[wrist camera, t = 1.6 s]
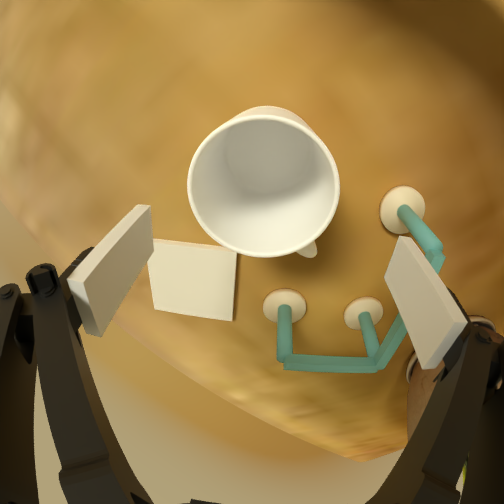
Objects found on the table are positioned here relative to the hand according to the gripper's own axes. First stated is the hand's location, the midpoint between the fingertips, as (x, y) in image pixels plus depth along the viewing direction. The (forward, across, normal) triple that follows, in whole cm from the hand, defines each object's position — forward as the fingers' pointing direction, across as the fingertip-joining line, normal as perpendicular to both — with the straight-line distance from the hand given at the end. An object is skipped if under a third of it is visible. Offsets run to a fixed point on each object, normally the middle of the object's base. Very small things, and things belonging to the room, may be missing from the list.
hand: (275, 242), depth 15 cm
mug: (+13, 0, 0) cm, 13 cm away
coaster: (+13, -8, -14) cm, 20 cm away
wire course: (+13, +8, -8) cm, 18 cm away
